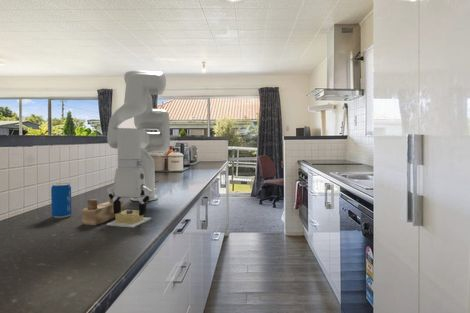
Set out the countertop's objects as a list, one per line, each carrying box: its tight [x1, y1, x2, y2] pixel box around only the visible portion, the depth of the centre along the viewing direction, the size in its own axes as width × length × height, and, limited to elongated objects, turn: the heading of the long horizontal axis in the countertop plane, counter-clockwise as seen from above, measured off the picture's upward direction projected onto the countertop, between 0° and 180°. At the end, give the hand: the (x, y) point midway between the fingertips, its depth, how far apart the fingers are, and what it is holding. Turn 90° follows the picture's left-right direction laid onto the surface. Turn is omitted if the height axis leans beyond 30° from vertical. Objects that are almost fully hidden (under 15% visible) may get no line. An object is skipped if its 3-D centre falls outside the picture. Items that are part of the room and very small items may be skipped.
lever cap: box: [114, 209, 144, 224], centre depth 116 cm, size 7×6×4 cm
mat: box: [106, 216, 152, 228], centre depth 116 cm, size 12×10×1 cm
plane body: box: [81, 190, 124, 226], centre depth 119 cm, size 16×5×9 cm, turn 166°
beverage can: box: [50, 182, 73, 219], centre depth 122 cm, size 6×6×12 cm
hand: (129, 213), depth 116 cm, fingers open, 9 cm apart
